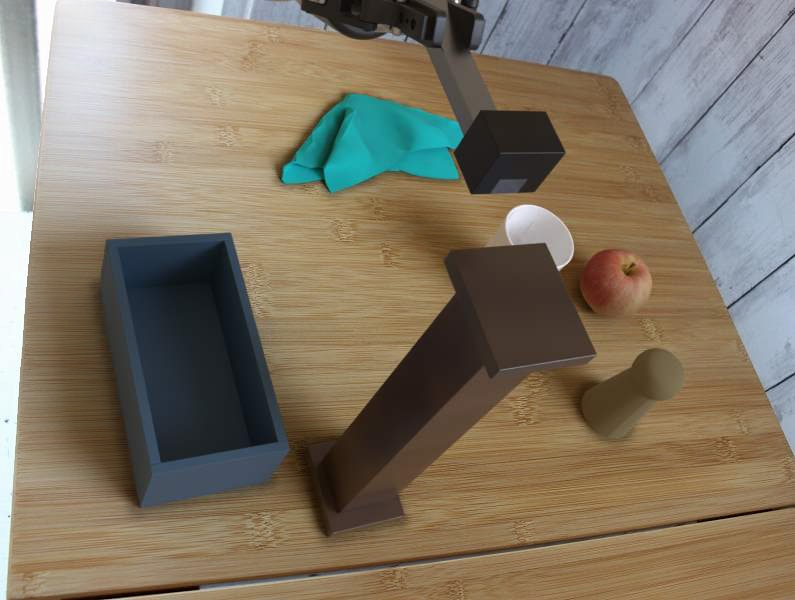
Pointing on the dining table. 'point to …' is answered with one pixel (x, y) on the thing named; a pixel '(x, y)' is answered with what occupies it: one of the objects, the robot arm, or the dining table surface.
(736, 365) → the dining table surface
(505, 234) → the white cup
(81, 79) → the dining table surface
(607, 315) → the apple
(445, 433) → the stand
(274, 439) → the bin
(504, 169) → the grey mallet
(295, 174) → the cloth
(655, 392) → the olive game pawn
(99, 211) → the dining table surface
